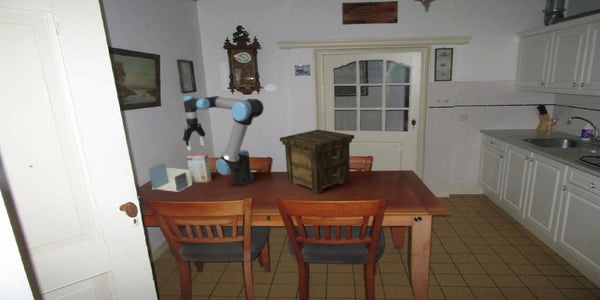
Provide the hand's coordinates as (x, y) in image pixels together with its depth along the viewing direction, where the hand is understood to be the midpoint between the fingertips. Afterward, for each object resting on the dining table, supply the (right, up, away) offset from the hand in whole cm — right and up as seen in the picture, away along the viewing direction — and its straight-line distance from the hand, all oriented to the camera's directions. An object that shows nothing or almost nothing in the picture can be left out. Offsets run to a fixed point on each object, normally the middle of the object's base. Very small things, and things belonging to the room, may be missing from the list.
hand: (196, 147), depth 218 cm
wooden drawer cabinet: (+87, -25, -8) cm, 91 cm away
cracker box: (+2, -26, +7) cm, 27 cm away
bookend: (-7, -28, -8) cm, 30 cm away
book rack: (-16, -29, -2) cm, 33 cm away
